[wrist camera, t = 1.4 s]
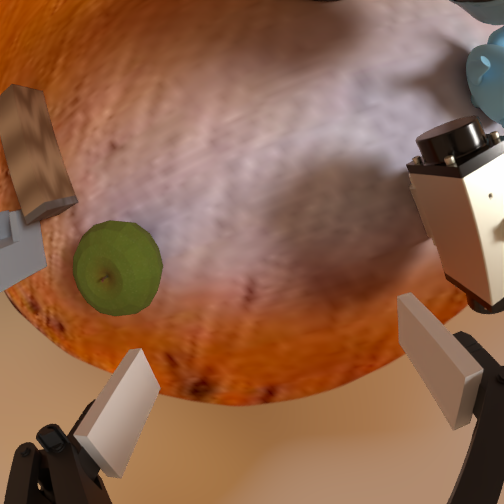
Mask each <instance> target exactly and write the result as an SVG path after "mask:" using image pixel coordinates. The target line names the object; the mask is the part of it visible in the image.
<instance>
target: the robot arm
mask: <svg viewBox="0 0 504 504" xmlns="http://www.w3.org/2000/svg"><path fill="white" fill-rule="evenodd" d="M316 1H337V0H316ZM450 1H451V2H453V3H455V4H457V5H459V6H460V7H461V8H463V9H464V10H465V11H466V12H468V13H469V14H470V15H471V16H473V17H474V18H475V19H477V20H478V21H480V22H483V23H487V24H491V25H504V0H450ZM397 305H398V326H399V344H400V345H401V347H402V348H403V350H404V351H405V353H406V354H407V356H408V357H409V359H410V360H411V362H412V363H413V365H414V367H415V368H416V370H417V372H418V373H419V375H420V376H421V378H422V379H423V381H424V383H425V384H426V386H427V388H428V389H429V391H430V392H431V394H432V396H433V397H434V399H435V401H436V402H437V404H438V406H439V407H440V409H441V411H442V412H443V414H444V416H445V417H446V419H447V421H448V423H449V424H450V426H451V428H452V430H456V429H458V428H460V427H463V426H465V425H467V424H469V423H470V421H471V418H472V414H474V415H475V417H476V418H477V423H476V426H475V429H474V432H473V435H472V439H471V443H470V446H469V449H468V452H467V455H466V458H465V460H464V463H463V466H462V469H461V472H460V474H459V476H458V479H457V482H456V484H455V486H454V489H453V492H452V494H451V496H450V498H449V500H448V502H447V504H497V502H498V499H499V496H500V493H501V489H502V486H503V482H504V366H500V365H499V364H498V363H497V361H495V359H493V357H492V356H491V355H490V354H489V353H488V352H487V351H486V350H485V349H484V348H482V346H481V345H480V344H479V343H477V341H476V340H475V339H474V338H473V337H472V336H471V335H469V334H467V333H464V332H462V331H460V332H458V333H455V334H453V335H452V334H451V333H450V332H449V331H448V330H447V329H446V328H445V326H444V325H443V324H442V323H441V322H440V321H439V320H438V319H437V318H436V317H435V316H434V315H433V314H432V313H431V312H430V311H429V310H428V309H427V308H426V307H425V306H424V305H423V304H422V303H421V302H420V301H419V300H418V299H417V298H416V297H415V296H414V295H413V294H412V293H411V292H410V293H407V294H403V295H400V296H397ZM159 391H160V386H159V384H158V382H157V380H156V378H155V376H154V374H153V372H152V370H151V368H150V366H149V364H148V361H147V359H146V357H145V355H144V353H143V351H142V348H139V349H131V350H129V351H128V353H127V354H126V356H125V357H124V358H123V360H122V361H121V363H120V364H119V366H118V367H117V369H116V370H115V372H114V373H113V375H112V376H111V378H110V379H109V381H108V382H107V384H106V385H105V387H104V388H103V390H102V391H101V393H100V394H99V396H98V397H97V399H95V400H93V401H92V402H91V403H90V404H89V405H87V407H86V408H85V410H84V411H83V414H81V416H80V417H79V420H77V422H76V423H75V425H74V426H73V428H72V429H71V431H70V432H69V434H68V436H66V435H65V434H64V432H63V431H62V430H61V428H60V427H59V426H58V425H57V424H49V425H46V426H45V427H43V428H42V429H40V430H39V432H38V433H37V435H36V439H37V441H38V442H39V443H40V444H41V446H42V447H43V448H44V449H43V450H38V449H37V448H36V446H35V445H34V444H33V443H31V442H26V443H24V444H21V445H20V446H19V447H18V448H17V449H16V451H15V454H14V458H13V462H12V466H11V471H10V475H9V480H8V485H7V490H6V495H5V501H4V504H112V502H111V500H110V498H109V495H108V493H107V491H106V488H105V486H104V483H103V481H102V479H101V477H100V476H99V475H98V472H99V470H100V469H101V470H102V471H103V472H104V473H105V474H106V475H107V476H108V477H115V478H122V476H123V473H124V471H125V469H126V466H127V464H128V462H129V459H130V457H131V454H132V452H133V450H134V447H135V445H136V443H137V441H138V438H139V436H140V433H141V431H142V429H143V426H144V424H145V422H146V420H147V418H148V415H149V413H150V411H151V409H152V406H153V404H154V402H155V399H156V397H157V395H158V393H159ZM37 483H39V484H40V486H41V489H40V490H39V489H38V484H37Z"/></svg>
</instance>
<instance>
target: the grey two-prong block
mask: <svg viewBox="0 0 504 504" xmlns="http://www.w3.org/2000/svg"><path fill="white" fill-rule="evenodd" d="M9 216H10V217H9ZM10 224H11V225H10ZM46 266H47V264H46V258H45V253H44V247H43V241H42V234H41V227H40V220H39V221H36V222H33V223H30V224H27V223H26V220H25V217H24V214H23V212H22V209H20V210H16V211H12V212H9V210H7V211H2V212H0V292H2V291H4V290H5V289H7V288H9V287H11V286H12V285H14V284H16V283H18V282H19V281H21V280H23V279H25V278H26V277H28V276H30V275H32V274H34V273H35V272H37V271H39V270H41V269H43V268H45V267H46Z"/></svg>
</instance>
